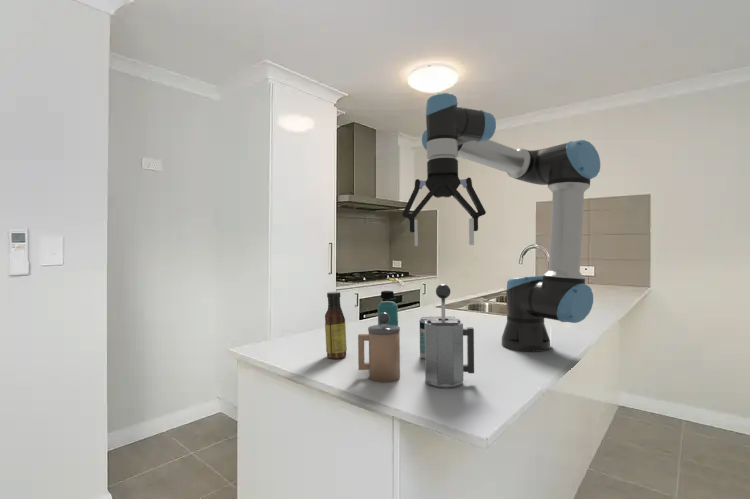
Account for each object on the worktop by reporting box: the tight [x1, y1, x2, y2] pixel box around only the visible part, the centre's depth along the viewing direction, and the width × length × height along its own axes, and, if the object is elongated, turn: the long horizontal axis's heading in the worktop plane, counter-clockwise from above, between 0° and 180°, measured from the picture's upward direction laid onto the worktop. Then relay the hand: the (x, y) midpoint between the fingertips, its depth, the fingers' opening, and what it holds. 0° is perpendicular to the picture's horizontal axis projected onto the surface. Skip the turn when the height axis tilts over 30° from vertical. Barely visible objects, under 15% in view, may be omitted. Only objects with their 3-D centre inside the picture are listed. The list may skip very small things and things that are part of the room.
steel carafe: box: [424, 316, 475, 390], centre depth 100 cm, size 12×9×16 cm
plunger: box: [435, 283, 451, 320], centre depth 100 cm, size 6×6×20 cm
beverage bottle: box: [377, 290, 399, 327], centre depth 124 cm, size 6×7×20 cm
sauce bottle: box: [324, 291, 348, 360], centre depth 124 cm, size 6×6×20 cm
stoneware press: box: [357, 312, 401, 383], centre depth 104 cm, size 11×8×17 cm
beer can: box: [419, 316, 431, 360], centre depth 121 cm, size 5×5×12 cm
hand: (443, 245), depth 100 cm, fingers open, 13 cm apart
